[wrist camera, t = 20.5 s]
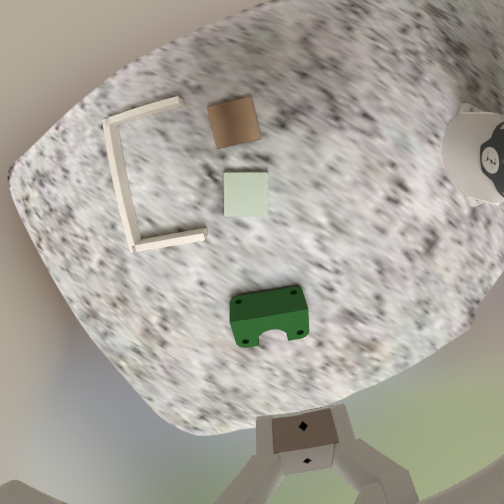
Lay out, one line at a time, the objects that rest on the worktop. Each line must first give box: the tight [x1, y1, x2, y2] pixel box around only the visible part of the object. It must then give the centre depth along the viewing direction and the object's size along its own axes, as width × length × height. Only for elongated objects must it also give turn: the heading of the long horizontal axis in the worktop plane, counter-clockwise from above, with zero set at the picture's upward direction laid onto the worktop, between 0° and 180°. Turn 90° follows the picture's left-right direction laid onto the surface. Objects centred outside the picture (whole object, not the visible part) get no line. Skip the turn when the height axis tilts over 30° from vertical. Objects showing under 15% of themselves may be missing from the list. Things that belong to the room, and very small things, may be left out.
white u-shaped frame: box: [102, 96, 208, 253], centre depth 37 cm, size 12×20×3 cm, turn 9°
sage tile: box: [224, 172, 269, 216], centre depth 39 cm, size 6×6×2 cm
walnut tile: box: [207, 97, 261, 149], centre depth 36 cm, size 6×6×2 cm
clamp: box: [230, 287, 309, 348], centre depth 43 cm, size 12×6×9 cm, turn 95°
